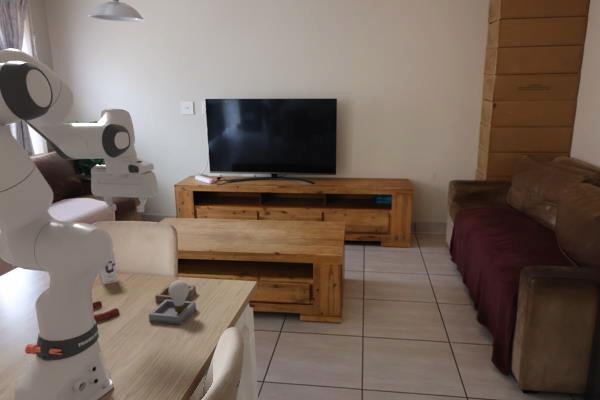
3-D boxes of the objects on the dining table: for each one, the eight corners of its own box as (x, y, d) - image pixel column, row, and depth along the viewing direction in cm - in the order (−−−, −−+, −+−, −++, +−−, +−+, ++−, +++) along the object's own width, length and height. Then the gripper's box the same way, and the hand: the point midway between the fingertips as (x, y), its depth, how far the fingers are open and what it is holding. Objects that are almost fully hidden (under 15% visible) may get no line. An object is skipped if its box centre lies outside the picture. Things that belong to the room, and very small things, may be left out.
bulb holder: (182, 305, 144) (182, 298, 144) (155, 302, 146) (155, 295, 146) (195, 292, 153) (195, 285, 152) (170, 290, 155) (169, 283, 155)
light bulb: (183, 317, 134) (182, 284, 132) (165, 315, 135) (164, 282, 134) (193, 310, 139) (192, 278, 138) (176, 307, 141) (175, 276, 139)
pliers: (34, 333, 130) (33, 324, 129) (99, 306, 146) (98, 298, 145) (55, 345, 123) (53, 336, 123) (121, 315, 139) (120, 307, 139)
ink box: (99, 277, 168) (95, 246, 165) (113, 274, 171) (109, 244, 168) (103, 285, 161) (99, 253, 158) (118, 281, 164) (114, 250, 161)
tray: (180, 325, 132) (180, 317, 131) (149, 321, 134) (148, 314, 133) (195, 309, 141) (195, 301, 141) (166, 306, 143) (165, 299, 143)
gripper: (83, 166, 133) (89, 212, 136) (146, 167, 128) (151, 215, 131) (97, 163, 139) (102, 207, 142) (158, 164, 134) (162, 209, 137)
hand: (126, 211), depth 136 cm, fingers open, 8 cm apart
